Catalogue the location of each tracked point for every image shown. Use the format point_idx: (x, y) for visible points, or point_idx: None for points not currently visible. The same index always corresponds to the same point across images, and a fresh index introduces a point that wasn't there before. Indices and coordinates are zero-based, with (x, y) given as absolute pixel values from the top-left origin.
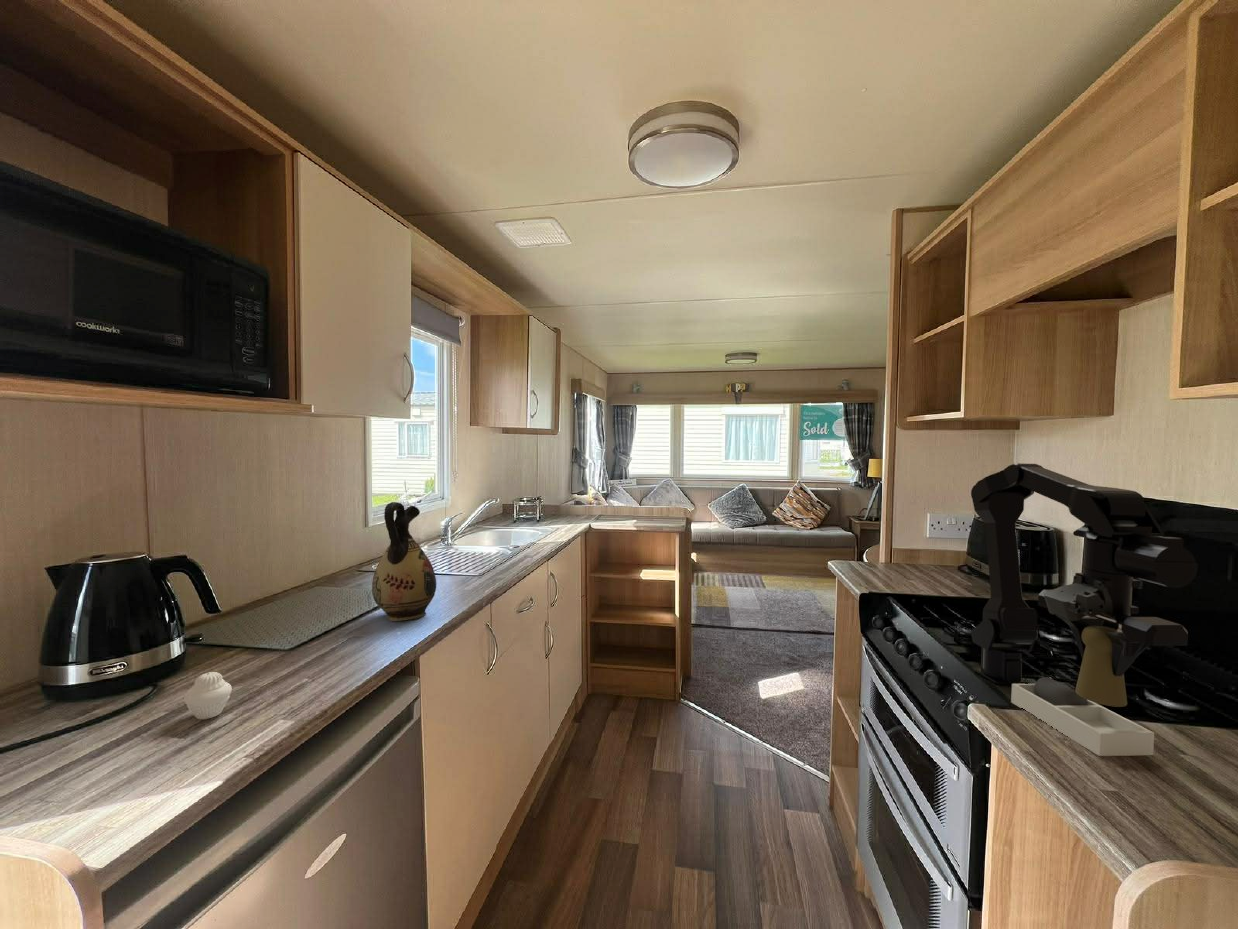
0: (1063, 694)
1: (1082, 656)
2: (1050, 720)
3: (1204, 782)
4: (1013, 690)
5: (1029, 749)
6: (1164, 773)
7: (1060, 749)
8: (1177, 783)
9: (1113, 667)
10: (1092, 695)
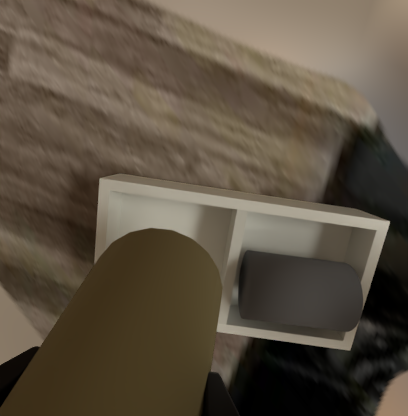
0: (268, 271)
1: (219, 392)
2: (243, 193)
3: (27, 278)
4: (372, 216)
5: (165, 30)
6: (56, 239)
7: (155, 112)
8: (26, 226)
9: (8, 376)
10: (129, 240)
